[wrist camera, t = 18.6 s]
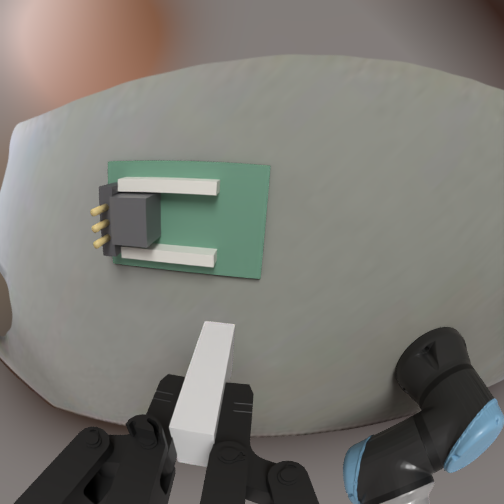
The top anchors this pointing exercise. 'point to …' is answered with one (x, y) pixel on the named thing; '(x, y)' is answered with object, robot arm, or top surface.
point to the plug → (135, 218)
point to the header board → (193, 215)
